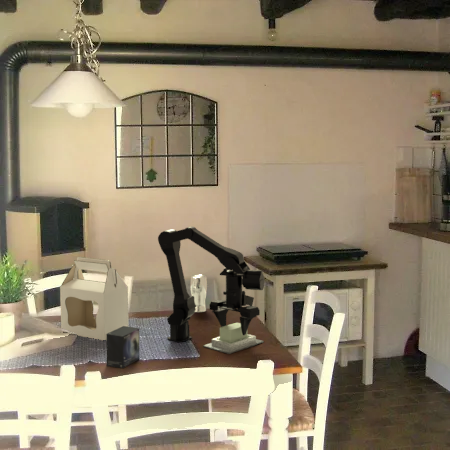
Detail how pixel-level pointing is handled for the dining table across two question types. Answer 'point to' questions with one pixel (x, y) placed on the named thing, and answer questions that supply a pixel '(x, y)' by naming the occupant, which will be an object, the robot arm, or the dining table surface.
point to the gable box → (93, 291)
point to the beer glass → (199, 291)
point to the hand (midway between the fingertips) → (234, 332)
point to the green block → (232, 333)
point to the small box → (122, 347)
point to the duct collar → (233, 344)
